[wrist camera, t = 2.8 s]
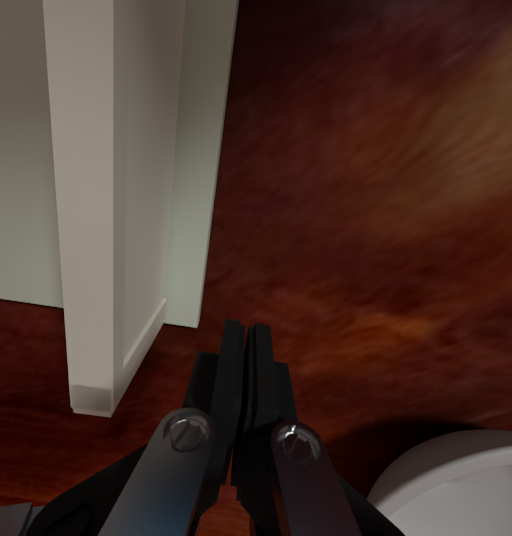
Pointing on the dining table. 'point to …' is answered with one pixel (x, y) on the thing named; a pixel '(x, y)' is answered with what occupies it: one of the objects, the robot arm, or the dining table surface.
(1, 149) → the base
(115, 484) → the robot arm
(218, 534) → the dining table surface
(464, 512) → the soup bowl
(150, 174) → the gate
